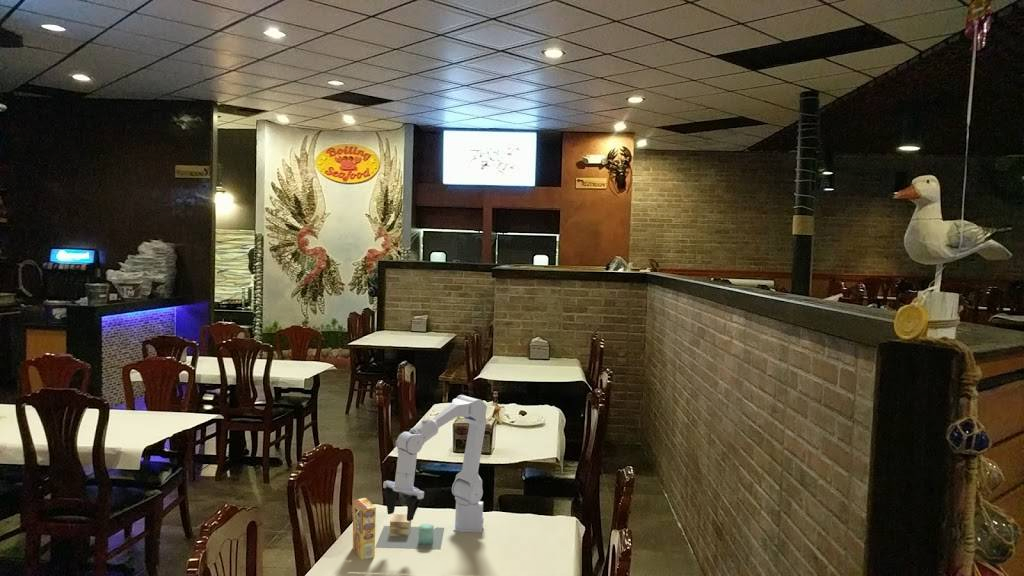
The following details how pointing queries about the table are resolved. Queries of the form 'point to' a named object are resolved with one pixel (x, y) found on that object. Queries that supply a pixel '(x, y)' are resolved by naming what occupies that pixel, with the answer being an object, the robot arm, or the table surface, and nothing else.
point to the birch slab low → (400, 532)
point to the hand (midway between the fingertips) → (400, 516)
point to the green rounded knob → (426, 534)
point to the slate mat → (408, 539)
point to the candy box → (364, 528)
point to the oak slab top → (399, 522)
